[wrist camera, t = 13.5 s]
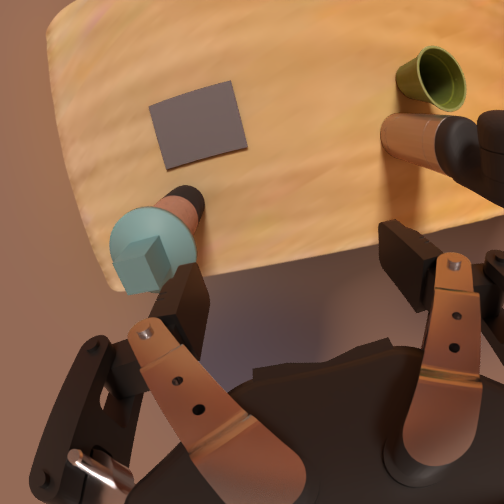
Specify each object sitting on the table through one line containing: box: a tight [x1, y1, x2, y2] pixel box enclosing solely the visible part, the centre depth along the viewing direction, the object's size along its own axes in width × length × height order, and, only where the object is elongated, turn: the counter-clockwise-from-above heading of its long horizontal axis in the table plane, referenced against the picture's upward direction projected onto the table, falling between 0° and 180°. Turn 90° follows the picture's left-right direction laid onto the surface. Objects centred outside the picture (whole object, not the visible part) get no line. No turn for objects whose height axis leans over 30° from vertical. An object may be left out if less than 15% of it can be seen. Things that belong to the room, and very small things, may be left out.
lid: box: [110, 206, 197, 295], centre depth 28 cm, size 11×11×6 cm
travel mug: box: [153, 185, 205, 235], centre depth 40 cm, size 8×8×20 cm
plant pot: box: [396, 46, 466, 112], centre depth 33 cm, size 12×12×11 cm
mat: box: [149, 81, 248, 169], centre depth 42 cm, size 15×12×1 cm
